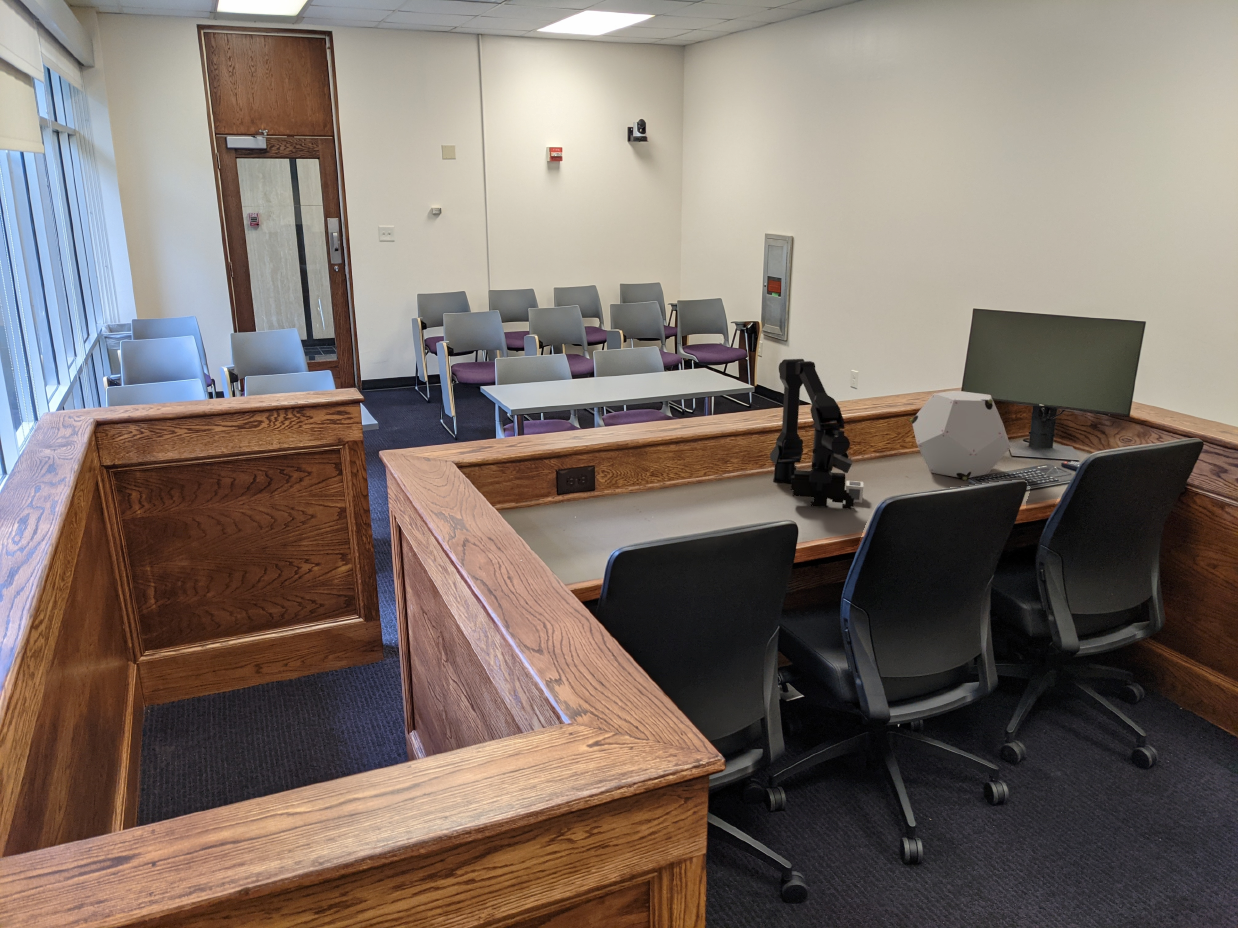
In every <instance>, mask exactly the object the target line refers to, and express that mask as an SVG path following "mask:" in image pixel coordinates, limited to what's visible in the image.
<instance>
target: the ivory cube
mask: <svg viewBox="0 0 1238 928" xmlns="http://www.w3.org/2000/svg"><path fill="white" fill-rule="evenodd" d="M845 490H847V492H848V493H849V495H851V496H852V497H851V498H854V503H863V497H864V496H863V495H864V481H857V480H855V481H854V480H845Z"/></svg>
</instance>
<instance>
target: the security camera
mask: <svg viewBox="0 0 1238 928" xmlns="http://www.w3.org/2000/svg"><path fill="white" fill-rule="evenodd" d="M810 471H811V470H802V469H801V470H800V469H797V470H795V471H794V476H791V483H790V491H792V496H793V497H802V498H813V501H810V507H812V508H813V507H814V508H815V507H816V508H817V507H818V508H827V504H828V500H831V502H832V503H840V504H841V505H842V506H841V508H842V510H843V509H844V510H851V509H852V508H854V506H855V502H854V498H851V497H852V496H851V495H849V493H848V492H847V490H846V473H844V472H832V471H831V472H832V478H831V482H830V483H828V484H827V485H825V488H824V491H823V495H822V498H821V500H820V501H819V500H817V499H816V496H815V493H814V490H813V488H812V485H811V482H810V481H809V474H810Z"/></svg>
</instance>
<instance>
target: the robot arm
mask: <svg viewBox="0 0 1238 928" xmlns="http://www.w3.org/2000/svg"><path fill="white" fill-rule="evenodd" d="M778 373H779V379H780V382H781V383H782V384H783V389H784V390H783V404H782V405H783V408H782V411H783V412H782V424H781V425H782V427H781V432H780V434H779V435H778V437H776V441H775V445H774V448H773V449H772V450H771V452H770V454H769V461H771V462H772V463H774V471H773V472H774V473H773V475H774V476H773V480H772V481H773V483H775V482H776V483H785V484H786V483H787V484H791V476H794V471H795V470H798V469H797V467H798V466H797V465H796V463H801V460H802V458H803V453H804V448H803V447H804V440H803V439H802V438H801V436H800V435H799V433H798V429H799V426H798V425H799V412H800V411H799V410H800V398H801V397H800V396H801V393H800V392H801V387H802V386H804V388H805V391H806V393H807V395H808V397H809V398H808V399H809V400H810V402H811V406H810V409H809V411H810V414H811V415H810V416H811V418H812V421H813V424H812V427H813V428H814V431H813V432H814V433H813V434H814V435H813V447H812V460H811V470H809V471H810V474H809V481H810V482H811V485H812V488H813V490H814V493H815V496H816V499H817V500H819V501H820V500H821V498H822V495H823V491H824V488H825V485H827V484H828V483H830V482H831V478H832V471H833V469H834V468H835V469H837V470H839V471H842V473H845V474H848V473H849V471H850V469H851V467H852V465H853V460H852V459H851V458H850V457H849V452H848V450H849V449H850V446H851V442H850V439H849V437H847V436H846V435H845V430H844V429H846V427H845V420H844V416H843V414H842V411H841V407H840V406H839V404H838V403H837V401H836V400H835V399H834V398H833V397H832V396H830V395H829V394H828V393H827V391H826V389H825V388H824V385H823V382H822V381H821V378H820V377H819V375H818V372H817V369H816V364H815V362H813V361H812V360H806V361H805V360H804V359H803V358H786V359H782V361H781V362H780V363H779V365H778Z"/></svg>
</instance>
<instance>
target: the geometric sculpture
mask: <svg viewBox="0 0 1238 928" xmlns="http://www.w3.org/2000/svg"><path fill="white" fill-rule="evenodd" d="M909 422H910V423H911V424H912V428H913V432H914V436H915V437H914V438H915V441H916V446H917V447H918V449H919V452H920V454H921V456H922V458H923V460H924V462H925V464H926V466H927V468H928V470H929V472H930V473H932V474H933V473H934V474H938V475H943V476H950V477H954V478H959V479H960V478H961V479H962V480H963V481H967V480H968V479H970V478H975V477H980V476H985V475H988V474H989V473H990V472H991V471H992V470H993V468H994V467H996V465H997V464H998V463H999V461H1000V460H1001V459H1002V458H1003V457H1004V456H1005V454H1007V452H1008V451H1009V450H1010V449H1011V448H1012V447H1011V444H1010V441H1009V438H1008V435H1007V432H1006V429H1005V426H1004V423H1003V420H1002V418H1001V416H1000V413H999V411H998V409H997V406H996V404H995V401H994V400H993V397H992V395H991V394H985V393H978V392H968V391H961V390H951V391H943V392H935V393H932V395H931V396H930V397H929V398H928V400H927V401H926V402H925V403H924V405H922V407H921V408H920V409H919V411H918V412H917V413H916V414H915V416H914V417H912V418H910V419H909Z"/></svg>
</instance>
